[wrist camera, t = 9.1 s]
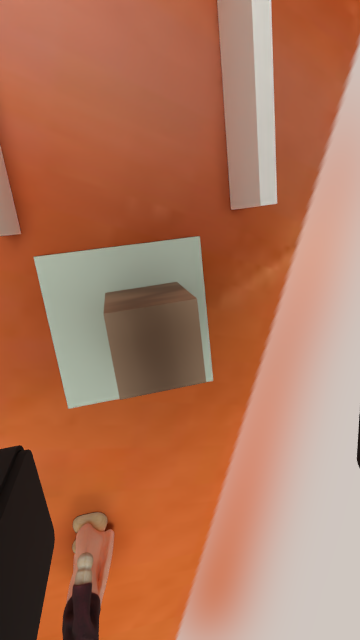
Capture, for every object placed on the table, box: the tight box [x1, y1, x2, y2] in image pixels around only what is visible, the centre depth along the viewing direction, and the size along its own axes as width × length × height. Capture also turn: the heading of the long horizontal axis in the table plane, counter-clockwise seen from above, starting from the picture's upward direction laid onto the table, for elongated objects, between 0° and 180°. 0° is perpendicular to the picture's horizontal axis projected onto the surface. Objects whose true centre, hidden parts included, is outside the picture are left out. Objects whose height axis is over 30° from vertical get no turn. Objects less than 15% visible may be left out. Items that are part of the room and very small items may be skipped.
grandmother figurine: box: [62, 512, 114, 640], centre depth 22 cm, size 8×4×13 cm, turn 3°
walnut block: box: [103, 282, 206, 400], centre depth 22 cm, size 5×5×6 cm
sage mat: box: [34, 236, 213, 409], centre depth 24 cm, size 11×11×1 cm
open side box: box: [0, 0, 277, 236], centre depth 18 cm, size 16×15×5 cm
